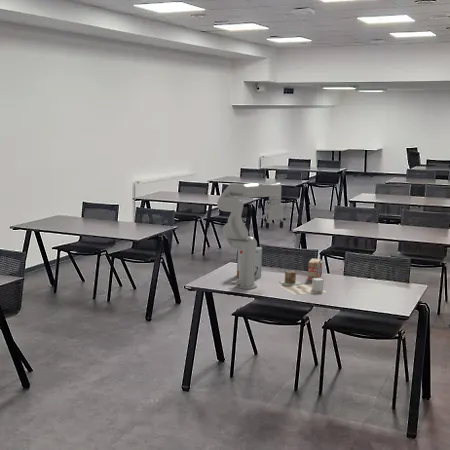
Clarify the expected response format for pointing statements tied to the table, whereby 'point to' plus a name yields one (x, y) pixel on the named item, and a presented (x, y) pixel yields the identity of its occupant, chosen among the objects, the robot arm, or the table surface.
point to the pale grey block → (317, 284)
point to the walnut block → (290, 277)
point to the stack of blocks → (314, 269)
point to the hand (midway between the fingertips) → (274, 228)
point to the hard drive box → (257, 262)
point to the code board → (300, 289)
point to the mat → (289, 284)
